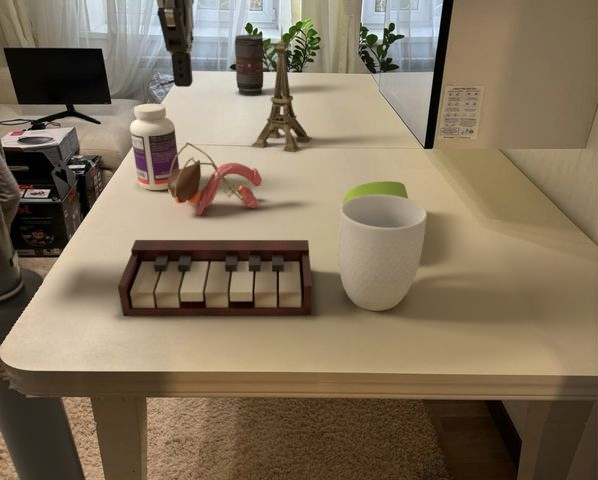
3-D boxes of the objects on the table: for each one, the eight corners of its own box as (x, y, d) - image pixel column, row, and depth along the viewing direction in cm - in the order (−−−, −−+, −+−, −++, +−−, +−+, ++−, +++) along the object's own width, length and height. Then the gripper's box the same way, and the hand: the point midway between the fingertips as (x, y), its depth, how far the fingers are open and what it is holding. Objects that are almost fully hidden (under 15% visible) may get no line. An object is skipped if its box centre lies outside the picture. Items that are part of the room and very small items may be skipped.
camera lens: (263, 96, 173) (262, 39, 164) (235, 96, 173) (233, 38, 164) (264, 90, 180) (263, 34, 171) (237, 89, 179) (235, 34, 171)
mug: (369, 262, 92) (377, 179, 84) (437, 282, 87) (452, 196, 79) (319, 304, 81) (323, 214, 74) (393, 330, 77) (405, 236, 69)
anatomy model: (278, 195, 104) (217, 133, 95) (223, 248, 107) (159, 194, 98) (266, 175, 112) (208, 116, 103) (215, 225, 115) (155, 173, 106)
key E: (180, 301, 78) (179, 292, 77) (188, 270, 85) (187, 261, 84) (203, 301, 78) (202, 292, 77) (209, 270, 85) (208, 261, 84)
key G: (230, 301, 78) (229, 292, 77) (234, 270, 85) (233, 261, 84) (252, 301, 78) (252, 292, 77) (254, 270, 85) (254, 261, 84)
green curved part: (343, 161, 101) (362, 218, 86) (411, 173, 103) (441, 231, 88) (331, 203, 106) (348, 264, 90) (396, 214, 108) (423, 275, 93)
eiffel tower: (251, 146, 136) (248, 22, 121) (270, 133, 144) (268, 16, 129) (295, 152, 133) (296, 26, 118) (311, 138, 141) (314, 19, 126)
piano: (122, 315, 78) (116, 282, 75) (140, 270, 88) (135, 239, 85) (311, 315, 79) (312, 282, 76) (307, 270, 89) (308, 239, 86)
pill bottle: (185, 178, 119) (177, 102, 111) (174, 193, 113) (165, 114, 104) (145, 176, 120) (135, 100, 111) (133, 191, 113) (120, 112, 105)
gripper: (145, -82, 72) (162, 74, 82) (122, -81, 61) (145, 98, 71) (207, -81, 72) (217, 74, 82) (195, -80, 61) (208, 98, 72)
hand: (183, 85), depth 77 cm, fingers closed
